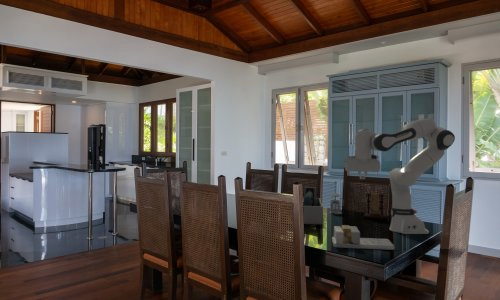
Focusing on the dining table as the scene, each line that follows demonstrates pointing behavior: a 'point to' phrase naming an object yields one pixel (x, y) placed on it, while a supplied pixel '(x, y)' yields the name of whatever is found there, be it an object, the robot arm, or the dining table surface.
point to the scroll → (375, 206)
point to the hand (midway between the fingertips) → (362, 179)
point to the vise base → (364, 242)
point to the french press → (336, 203)
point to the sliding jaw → (355, 235)
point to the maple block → (346, 233)
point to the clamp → (309, 196)
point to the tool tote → (313, 213)
